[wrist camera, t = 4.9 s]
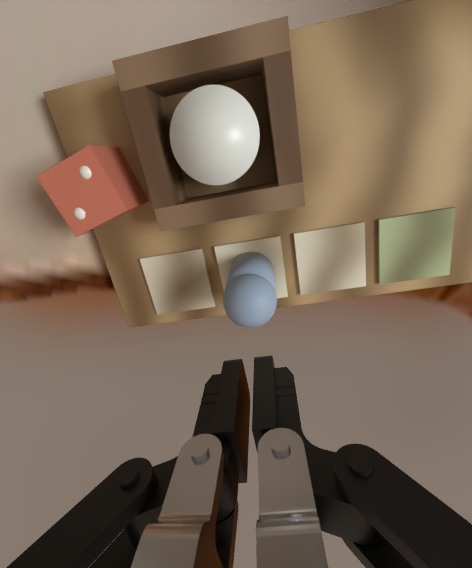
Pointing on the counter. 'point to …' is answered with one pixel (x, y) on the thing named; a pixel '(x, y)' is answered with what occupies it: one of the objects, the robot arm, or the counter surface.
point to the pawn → (250, 290)
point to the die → (93, 187)
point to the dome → (214, 134)
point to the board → (294, 160)
